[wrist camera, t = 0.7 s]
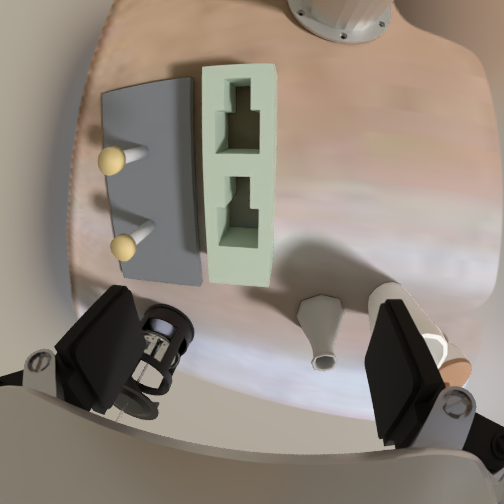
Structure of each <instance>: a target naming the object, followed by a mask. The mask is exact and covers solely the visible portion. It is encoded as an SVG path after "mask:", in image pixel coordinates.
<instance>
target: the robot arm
mask: <svg viewBox="0 0 504 504" xmlns="http://www.w3.org/2000/svg"><path fill="white" fill-rule="evenodd" d="M393 1H394V0H288V5H289V8H290V10H291V12H292V14H293V16H294V17H295V18H296V19H297V21H298V22H299V23H300V24H301V25H302V26H303V27H305V28H306V29H307V30H309V31H310V32H312V33H313V34H315V35H317V36H319V37H321V38H323V39H326V40H329V41H332V42H335V43H341V44H362V43H366V42H369V41H372V40H374V39H376V38H378V37H379V36H380V35H381V34H383V33H384V32H385V30H386V29H387V28H388V26H389V24H390V21H391V15H392V12H391V5H390V4H391V3H392V2H393ZM299 14H302V15H303V16H300V15H299ZM379 25H381V27H380V26H379ZM341 37H344V39H342V38H341ZM54 347H55V349H56V351H57V354H56V355H55V354H54V353H53V352H52V351H51V350H49V349H40V350H38V351H35V352H34V353H32V354H31V355H30V356H29V357H28V358H27V360H26V361H25V365H24V370H21V371H18V372H15V373H12V374H8V375H5V376H2V377H0V504H504V427H503V426H501V425H499V424H497V423H495V422H493V421H491V420H489V419H487V418H485V417H483V416H482V415H480V414H478V413H476V412H475V411H476V402H475V399H474V397H473V396H472V394H471V393H470V392H469V391H468V390H466V389H464V388H462V387H459V386H450V387H447V388H446V386H445V384H444V381H443V379H442V377H441V374H440V372H439V370H438V368H437V365H436V363H435V361H434V359H433V357H432V354H431V352H430V350H429V348H428V346H427V344H426V342H425V340H424V338H423V336H422V335H421V334H420V333H419V331H418V329H417V327H416V325H415V323H414V321H413V319H412V317H411V315H410V313H409V311H408V309H407V307H406V306H405V304H404V302H403V300H402V299H387V300H386V301H385V303H381V305H380V307H379V311H378V315H377V319H376V322H375V326H374V330H373V333H372V337H371V340H370V343H369V346H368V350H367V353H366V356H365V369H366V374H367V379H368V383H369V388H370V393H371V398H372V403H373V409H374V414H375V420H376V426H377V432H378V437H379V439H383V442H384V446H390V445H395V449H393V450H382V451H374V452H364V453H349V454H323V455H294V454H273V453H259V452H249V451H239V450H232V449H225V448H218V447H212V446H206V445H201V444H196V443H191V442H186V441H181V440H176V439H173V438H169V437H165V436H161V435H157V434H153V433H149V432H146V431H143V430H139V429H136V428H133V427H130V426H127V425H123V424H120V423H118V422H115V421H112V420H109V419H106V418H104V417H101V416H99V415H96V414H93V413H91V412H89V411H90V410H91V408H92V409H93V411H95V412H98V413H101V414H103V415H104V414H105V412H106V410H107V409H110V408H111V407H112V405H113V403H114V402H115V400H116V398H117V396H118V395H119V393H120V391H121V390H122V388H123V386H124V384H125V383H126V381H127V379H128V378H129V376H130V374H131V372H132V371H133V369H134V367H135V366H136V364H137V362H138V361H139V359H140V357H141V356H142V354H143V352H144V351H145V349H146V340H145V337H144V334H143V331H142V327H141V324H140V321H139V317H138V314H137V311H136V307H135V303H134V300H133V296H132V293H131V291H130V290H128V288H127V287H126V286H120V285H112V286H111V287H110V288H109V289H108V290H107V291H106V292H105V293H104V294H103V295H102V296H101V297H100V298H99V299H98V300H97V301H96V302H95V303H94V304H93V305H92V306H91V307H90V308H89V309H88V310H87V311H86V312H85V313H84V314H83V316H82V317H81V318H80V319H79V320H78V321H77V322H76V323H75V324H74V325H73V326H72V327H71V328H70V330H69V331H68V332H67V333H66V334H65V335H64V336H63V337H62V339H61V340H60V341H59V342H58V343H57V344H56V345H55V346H54Z"/></svg>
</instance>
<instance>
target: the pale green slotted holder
mask: <svg viewBox="0 0 504 504" xmlns="http://www.w3.org/2000/svg"><path fill="white" fill-rule="evenodd" d="M243 86H251V110H252V111H255V112H257V113H260V149H228V113H236V87H243ZM277 92H278V74H277V71H276V68H275V64H232V65H217V66H206V67H202V150H203V182H204V205H205V224H206V241H207V256H208V270H209V282H212V283H223V284H234V285H246V286H258V287H269V282H270V276H271V270H272V264H273V242H274V217H275V188H276V151H277ZM236 176H237V177H250V209H259V227H258V228H243V227H230V221H229V202H230V201H231V199H232V198H233V197H234V196H235V195H236Z"/></svg>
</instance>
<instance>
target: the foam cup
mask: <svg viewBox="0 0 504 504" xmlns="http://www.w3.org/2000/svg"><path fill="white" fill-rule="evenodd" d="M387 299H402V300H403V302H404V304H405V306H406V307H407V309H408V311H409V313H410V315H411V317H412V319H413V321H414V323H415V325H416V327H417V329H418V331H419V333H420V334H421V335H422V336H423V338H424V340H425V342H426V344H427V346H428V348H429V350H430V352H431V354H432V357H433V359H434V361H435V363H436V365H437V368H438V369H439V368H440V367H441V365H442V363H443V361H444V360H445V358H446V356H447V347H448V343H447V341H446V339H445V337H444V336H443V334H442V332H441V330H440V329H439V328H438V327H437V325H436V324H435V323H434V322H432V321H431V320H430V319H429V317H428V316H427V315H426V314H425V312H424V311H423V310H422V309H421V307H420V306H419V305H418V304H417V302H416V301H415V300H414V299H413V298H412V296H411V295H410V294H409V293H408V292H407V291H406V290H405V288H404V287H403V286H402V285H401V284H398V283H394V282H390V283H384V284H382V285H380V286H379V287H377V288H376V289H375V290H374V291H373V292H372V294H371V295H370V296H369V301H368V312H369V321H370V331H371V337H372V333H373V330H374V326H375V322H376V319H377V315H378V311H379V307H380V305H381V303H385V301H386V300H387Z"/></svg>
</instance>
